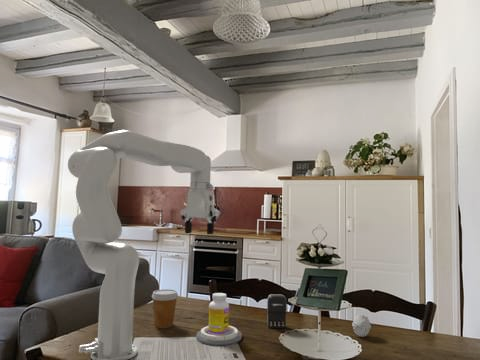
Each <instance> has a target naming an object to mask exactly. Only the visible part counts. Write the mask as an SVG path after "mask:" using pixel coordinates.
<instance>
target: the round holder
mask: <svg viewBox="0 0 480 360" xmlns="http://www.w3.org/2000/svg"><path fill="white" fill-rule="evenodd" d="M208 328H209V325H207V326H205V327H202V328H201V329H200V330H199V331H197V332H196V340H197V342H199V343H201V344H204V345H208V346H215V347H216V346H217V347H219V346H220V347H221V346H230V345H234V344H238V343H239V342H241V340H242V337H243V334H242V332H241V331H240V330H239V329H238V328H237V327H236V326H232V325H229V327H228V334H227V335H224V336H215V335H210V334H209V333H208Z"/></svg>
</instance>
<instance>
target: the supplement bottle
mask: <svg viewBox="0 0 480 360" xmlns="http://www.w3.org/2000/svg"><path fill="white" fill-rule="evenodd" d="M226 299H227V293H223V292H214V293H212V301H210V303H209V304H208V326H209V328H208V333H209V334H210V335H215V336H224V335H227V334H228V327H229V326H230V325H229V324H230V323H229V321H230V305H229V302H228V301H227V300H226Z"/></svg>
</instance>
